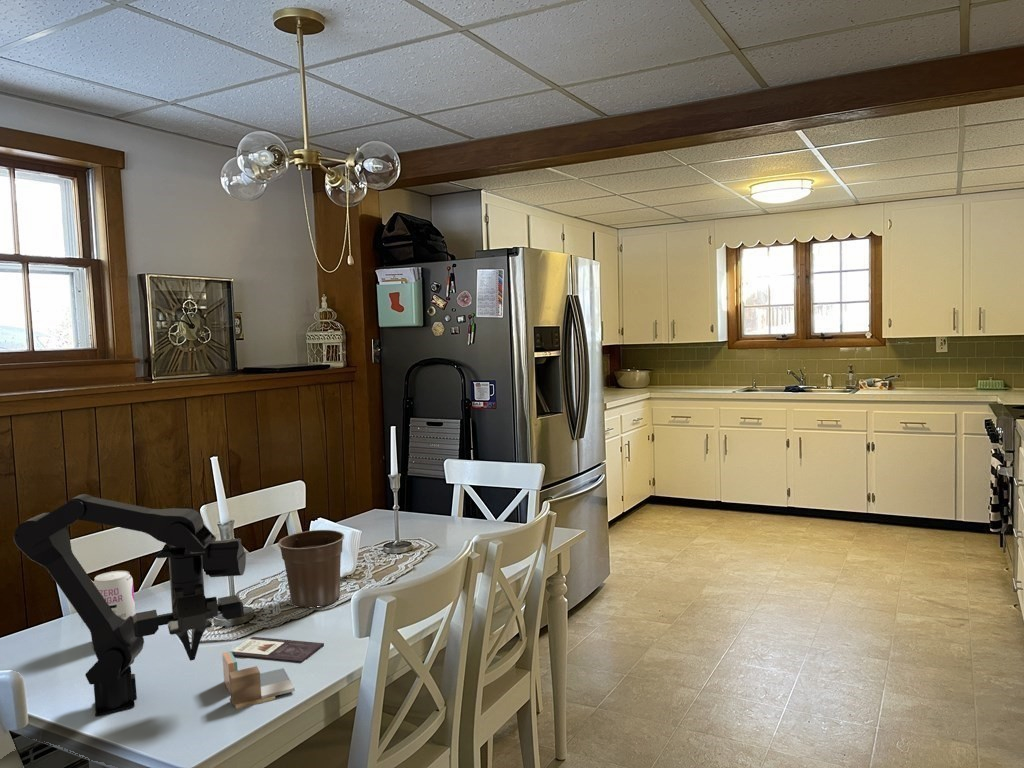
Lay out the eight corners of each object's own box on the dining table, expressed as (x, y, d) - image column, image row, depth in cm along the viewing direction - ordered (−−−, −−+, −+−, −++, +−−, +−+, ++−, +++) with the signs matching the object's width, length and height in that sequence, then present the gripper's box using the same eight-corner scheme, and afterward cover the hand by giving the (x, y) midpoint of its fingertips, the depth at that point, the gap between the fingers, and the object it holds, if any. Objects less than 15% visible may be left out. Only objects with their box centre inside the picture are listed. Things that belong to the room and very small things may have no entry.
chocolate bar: (301, 661, 159) (227, 653, 164) (301, 665, 159) (227, 658, 164) (323, 643, 168) (252, 636, 173) (324, 647, 168) (252, 640, 173)
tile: (230, 694, 147) (228, 663, 146) (224, 682, 152) (222, 652, 152) (239, 692, 148) (237, 661, 147) (232, 680, 153) (230, 650, 152)
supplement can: (129, 629, 181) (124, 567, 180) (142, 639, 175) (137, 574, 174) (91, 640, 175) (86, 576, 174) (103, 650, 169) (98, 584, 168)
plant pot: (299, 617, 185) (295, 551, 184) (271, 601, 197) (267, 539, 196) (359, 599, 196) (356, 537, 194) (328, 585, 208) (325, 526, 206)
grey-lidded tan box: (233, 706, 141) (231, 679, 140) (230, 697, 144) (228, 671, 144) (294, 690, 146) (293, 665, 145) (290, 682, 149) (288, 657, 149)
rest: (236, 709, 141) (235, 706, 141) (231, 698, 145) (231, 695, 145) (275, 699, 144) (275, 696, 144) (270, 688, 148) (269, 685, 148)
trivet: (242, 695, 146) (242, 693, 146) (237, 680, 152) (237, 679, 152) (291, 683, 150) (291, 681, 150) (283, 669, 156) (283, 668, 156)
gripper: (132, 601, 132) (139, 689, 133) (246, 581, 141) (251, 663, 142) (130, 583, 142) (136, 665, 143) (236, 565, 151) (241, 642, 152)
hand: (192, 659), depth 145 cm, fingers closed
